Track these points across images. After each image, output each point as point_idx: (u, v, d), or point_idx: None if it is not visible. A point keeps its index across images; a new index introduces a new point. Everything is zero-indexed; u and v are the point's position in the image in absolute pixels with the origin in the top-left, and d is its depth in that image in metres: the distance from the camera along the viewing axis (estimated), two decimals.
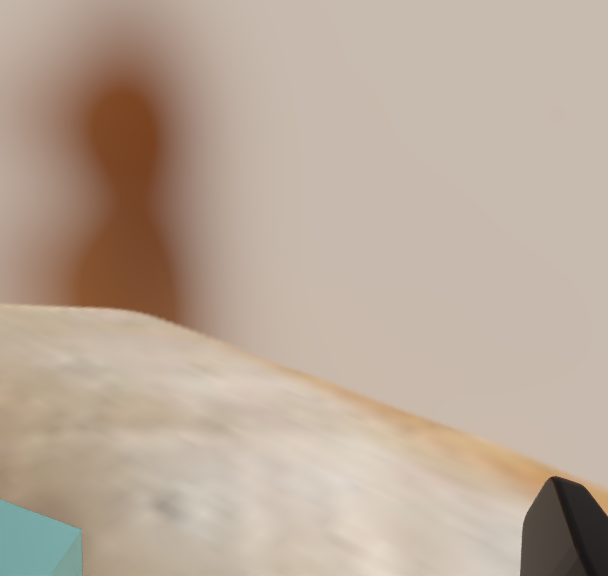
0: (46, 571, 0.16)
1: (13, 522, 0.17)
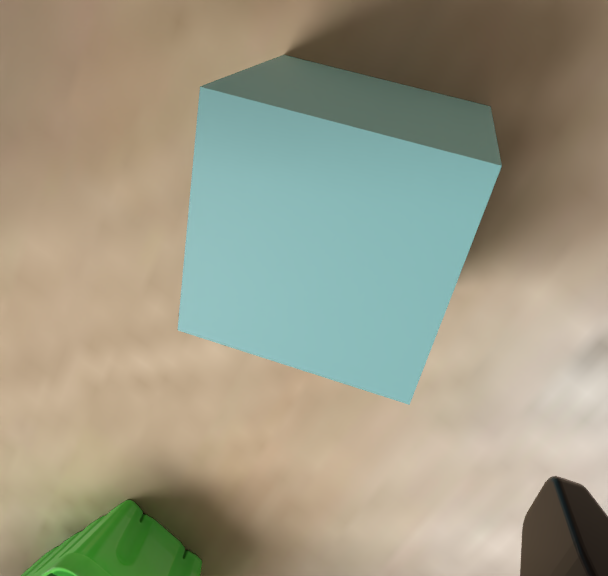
0: (350, 380, 0.14)
1: (410, 332, 0.12)
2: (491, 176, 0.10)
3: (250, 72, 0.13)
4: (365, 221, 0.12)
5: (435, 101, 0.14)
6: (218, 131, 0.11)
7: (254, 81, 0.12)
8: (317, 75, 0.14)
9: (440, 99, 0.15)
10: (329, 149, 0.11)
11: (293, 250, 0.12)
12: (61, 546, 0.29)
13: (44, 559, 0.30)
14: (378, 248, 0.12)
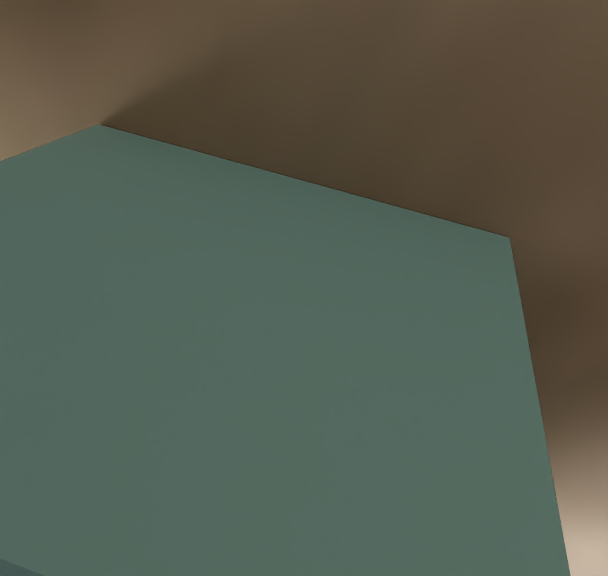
0: None
1: None
2: None
3: None
4: None
5: (389, 247, 0.06)
6: None
7: None
8: (121, 191, 0.06)
9: (402, 234, 0.07)
10: None
11: None
12: None
13: None
14: None
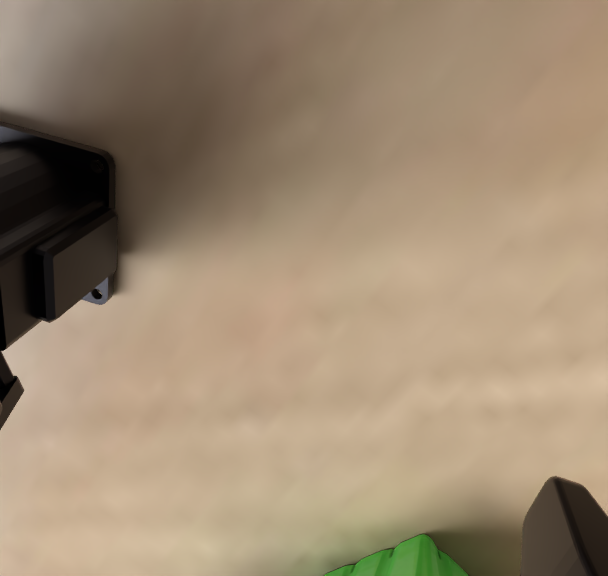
0: None
1: None
2: None
3: None
4: None
5: None
6: None
7: None
8: None
9: None
10: None
11: None
12: None
13: None
14: None
